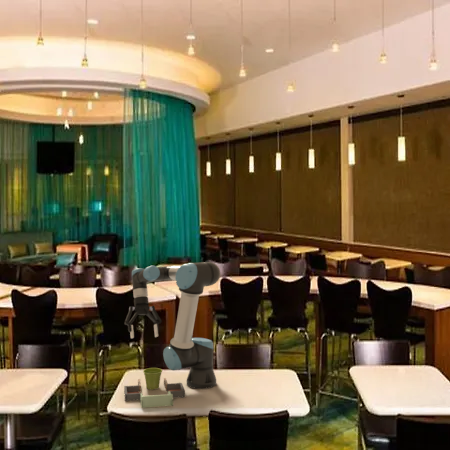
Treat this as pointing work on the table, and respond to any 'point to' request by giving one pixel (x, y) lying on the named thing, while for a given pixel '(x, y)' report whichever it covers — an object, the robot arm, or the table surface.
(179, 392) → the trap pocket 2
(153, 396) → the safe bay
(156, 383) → the plant pot
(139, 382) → the chute
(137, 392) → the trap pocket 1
